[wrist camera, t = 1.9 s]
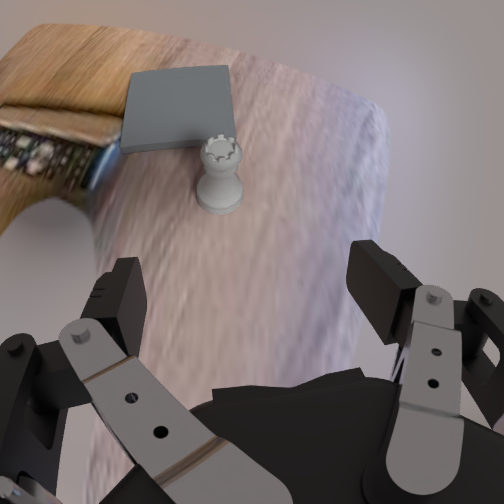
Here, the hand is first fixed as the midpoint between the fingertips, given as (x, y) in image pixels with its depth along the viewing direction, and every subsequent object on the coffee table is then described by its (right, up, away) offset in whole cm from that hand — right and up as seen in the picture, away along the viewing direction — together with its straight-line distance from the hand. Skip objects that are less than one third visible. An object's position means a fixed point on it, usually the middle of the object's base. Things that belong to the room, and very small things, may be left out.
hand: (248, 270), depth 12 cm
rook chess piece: (-3, +6, +19) cm, 20 cm away
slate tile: (-8, +17, +22) cm, 29 cm away
